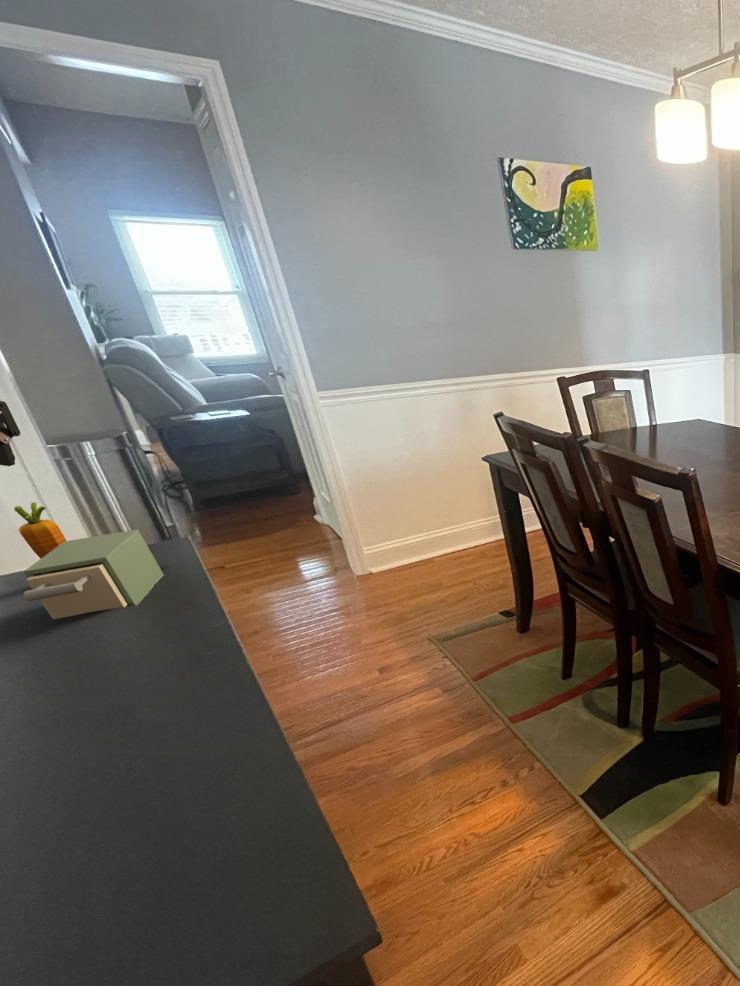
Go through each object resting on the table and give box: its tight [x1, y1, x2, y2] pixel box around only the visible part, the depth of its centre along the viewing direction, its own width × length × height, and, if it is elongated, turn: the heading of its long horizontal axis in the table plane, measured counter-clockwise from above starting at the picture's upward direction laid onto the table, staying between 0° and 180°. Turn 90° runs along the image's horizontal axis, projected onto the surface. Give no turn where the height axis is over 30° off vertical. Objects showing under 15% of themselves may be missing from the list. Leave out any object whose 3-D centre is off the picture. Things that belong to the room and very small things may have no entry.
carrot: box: [13, 501, 67, 559], centre depth 109 cm, size 5×5×15 cm
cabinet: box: [23, 529, 165, 608], centre depth 103 cm, size 13×10×10 cm
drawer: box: [23, 562, 127, 620], centre depth 99 cm, size 16×9×8 cm, turn 25°
